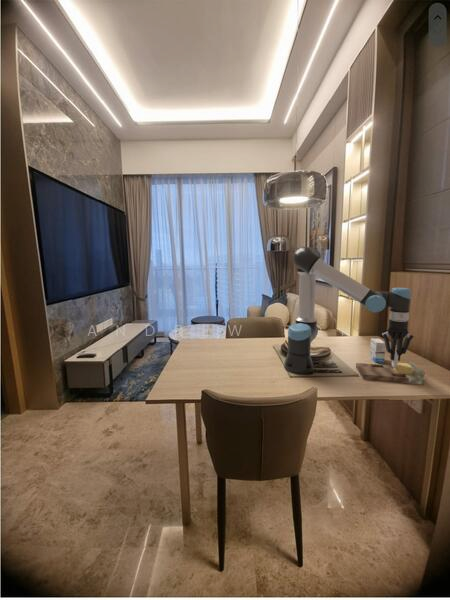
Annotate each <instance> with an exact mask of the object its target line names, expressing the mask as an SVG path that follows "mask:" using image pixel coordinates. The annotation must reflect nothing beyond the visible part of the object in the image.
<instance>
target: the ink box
mask: <svg viewBox="0 0 450 600" xmlns="http://www.w3.org/2000/svg"><path fill="white" fill-rule="evenodd" d="M369 348H370V349H369V358H370V359H371V360H372V361H374V362H375V364H378V363H379V364H385V358H386V346H385V341H384V340H382V339H380V338H370V347H369Z"/></svg>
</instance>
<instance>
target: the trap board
mask: <svg viewBox="0 0 450 600" xmlns="http://www.w3.org/2000/svg"><path fill="white" fill-rule="evenodd" d="M408 364H409V365H410V366H411V367H412V368H413V369H412V375H411V374H399V373H397V372H396V371H395V370H394V367H393V366H392V364H391V365H389V364H378V363H375V364H374V363H364V362H363V363H361V362H356V363H355V369H356V370H357V371H358V373H359V375H360V376H361V378H362V379H363V380H367V381H368V380H369V381H377V382H389V383H390V382H391V383H401V384H411V385H412V384H414V385H422V386H423V385H424V384H425V371H424V370H423V369H422V368H420V367H419V366H418V365H417V364H416V363H414V362H413V361H412V360H408Z"/></svg>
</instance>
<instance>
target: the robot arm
mask: <svg viewBox="0 0 450 600" xmlns="http://www.w3.org/2000/svg"><path fill="white" fill-rule="evenodd" d="M292 262H293V264H294V265H295V268H296V273H297V274H298V275H299V282H298V283H299V285H298V286H299V287H298V288H299V289H298V290H299V291H298V293H299V294H298V316H297V317H295V323H293V324H290V325H289V326H288V329H287V355H286V357H285V360H284V363H283V368H284V369H285V370H286V371H287V372H290V373H293V374H300V375H301V374H302V375H304V374H309V373H312V372H313V371H314V363H313V360H312V357H311V345H312V342H313V341H314V340H315V339H316V338H317V336H318V334H319V327H318V324H317V321H318V319H317V318H316V317H315V302H316V281H317V279H316V278H319V279H321V280H322V281H324V282H325V283H327V284H328V285H330V286H332V287H334V288H335V289H337V290H338V291H340V292H341V293H343V294H345V295H347V296H348V297H350V298H351V299H353V300H355V301H357V302H358V303H359V304H360V305H362V306H364V307H365V308H366V309H367V310H368V311H370V312H372V313H379V312H381V311H383V310H384V309H385V308H390V309H389V318H388V319H389V321H388V328H387V331H386V332H382V333H381V335H382V336H383V342H384V343H385V352H387V353H389V354H390V356H389V359H390V360H391V366H393V367H394V368H397V364H398V363H399V362H400V361H401V356H402V355H405V354H406V353H407V350H408V347H409V345H410V343H411V341H412V339H414V335H413V334H411V333H409V331H408V329H409V319H410V318H409V317H410V308H411V301H412V299H411V297H412V290H411V289H410V288H407V287H392V288H391V290H390V291H381V290H380V291H378V290H372V289H370V288H369V287H367V286H365V285H363V284H362V283H360V282H359V281H357V280H355V279H354V278H352V277H350V276H349V275H347V274H345V273H344V272H342V271H340V270H338V269H337V268H335V267H334V266H332V265H329V264H328V263H326V262H324V261H323V258H322V255H321V253H320V251H319V250H318V249H317V248H315V247H311V246H301V247H299V248H297V249H296V250H295V251H294V253H293V255H292ZM389 336H390V340H389ZM390 342H391V343H390Z"/></svg>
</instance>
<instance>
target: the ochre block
mask: <svg viewBox="0 0 450 600" xmlns="http://www.w3.org/2000/svg"><path fill="white" fill-rule="evenodd" d="M412 369H413V368H412V367H411V366H410V365H409V364H408V363H406V362H398V364H397V368H394V370H395V371H396V372H397V373H399V374H411V375H412Z"/></svg>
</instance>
